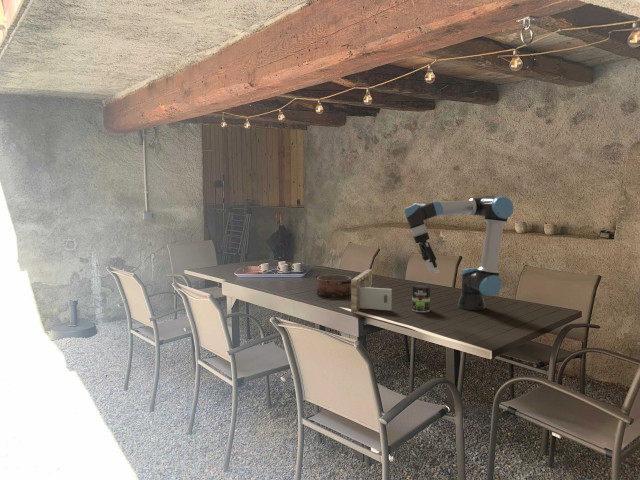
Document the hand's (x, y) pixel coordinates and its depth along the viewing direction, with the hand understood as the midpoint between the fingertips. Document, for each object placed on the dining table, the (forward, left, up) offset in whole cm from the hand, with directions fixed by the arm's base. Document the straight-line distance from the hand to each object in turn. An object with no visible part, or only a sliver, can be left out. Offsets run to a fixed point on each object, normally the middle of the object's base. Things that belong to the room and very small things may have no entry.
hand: (434, 272), depth 240 cm
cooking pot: (-44, -69, -25) cm, 85 cm away
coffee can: (-18, -9, -25) cm, 32 cm away
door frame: (-20, -44, -25) cm, 54 cm away
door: (-10, -34, -25) cm, 43 cm away
